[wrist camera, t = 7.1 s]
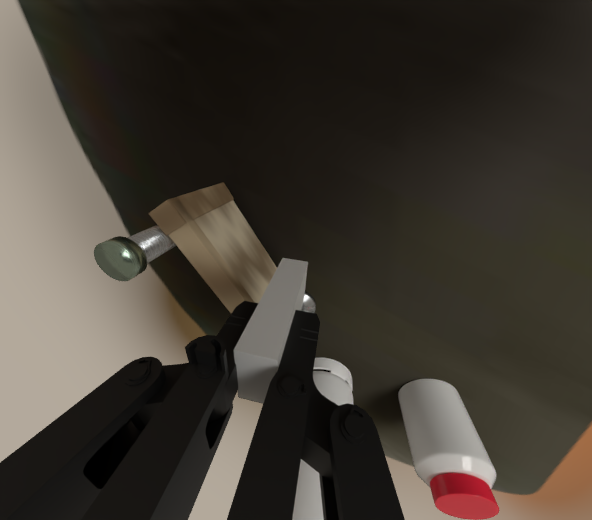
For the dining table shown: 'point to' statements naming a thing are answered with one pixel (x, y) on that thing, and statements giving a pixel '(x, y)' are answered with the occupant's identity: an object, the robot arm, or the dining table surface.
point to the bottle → (308, 485)
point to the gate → (218, 243)
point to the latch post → (131, 253)
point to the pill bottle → (448, 449)
